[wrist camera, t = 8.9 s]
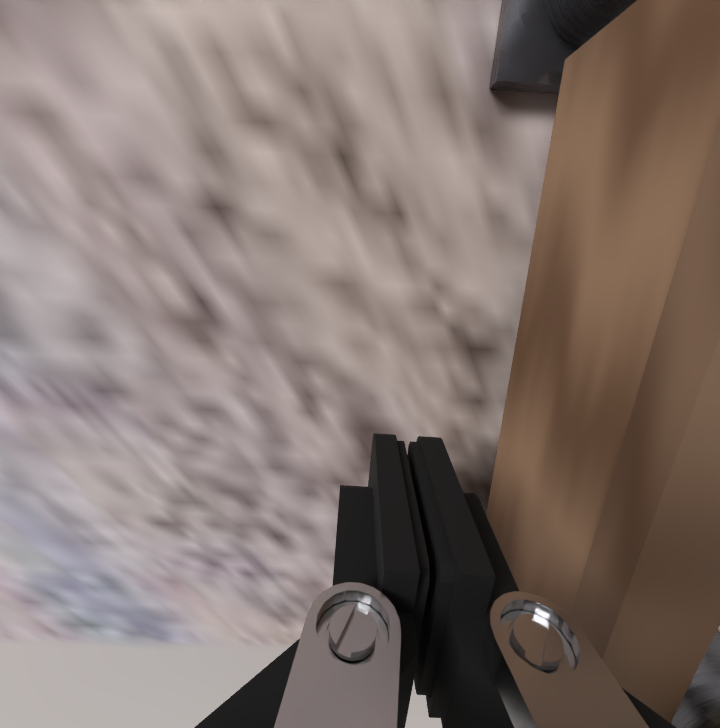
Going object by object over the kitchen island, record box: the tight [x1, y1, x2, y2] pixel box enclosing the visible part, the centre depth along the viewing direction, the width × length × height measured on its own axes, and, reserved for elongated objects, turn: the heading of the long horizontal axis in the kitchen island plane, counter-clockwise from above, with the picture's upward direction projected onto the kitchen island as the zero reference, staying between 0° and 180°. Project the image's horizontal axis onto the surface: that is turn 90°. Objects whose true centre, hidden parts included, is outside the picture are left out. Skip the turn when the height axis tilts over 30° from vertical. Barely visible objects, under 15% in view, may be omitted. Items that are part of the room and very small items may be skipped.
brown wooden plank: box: [486, 0, 720, 723], centre depth 9 cm, size 17×2×6 cm, turn 179°
